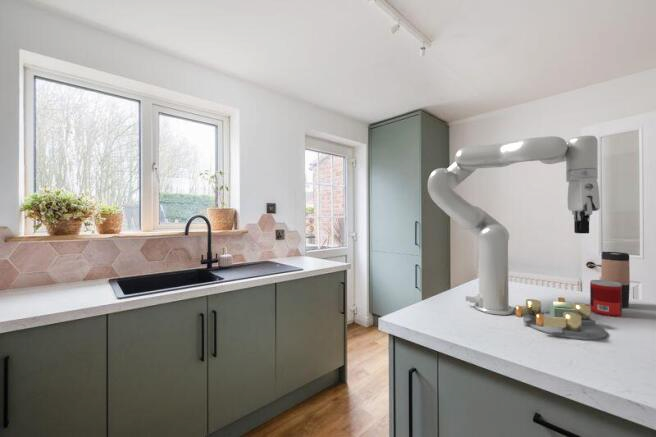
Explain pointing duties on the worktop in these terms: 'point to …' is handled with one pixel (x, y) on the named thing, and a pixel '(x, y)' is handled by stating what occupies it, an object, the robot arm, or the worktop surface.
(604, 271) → the travel mug
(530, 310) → the knob
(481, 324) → the worktop surface
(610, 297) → the canned food
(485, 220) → the robot arm
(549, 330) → the tribrach
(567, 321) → the knob
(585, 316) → the knob
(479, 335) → the worktop surface
